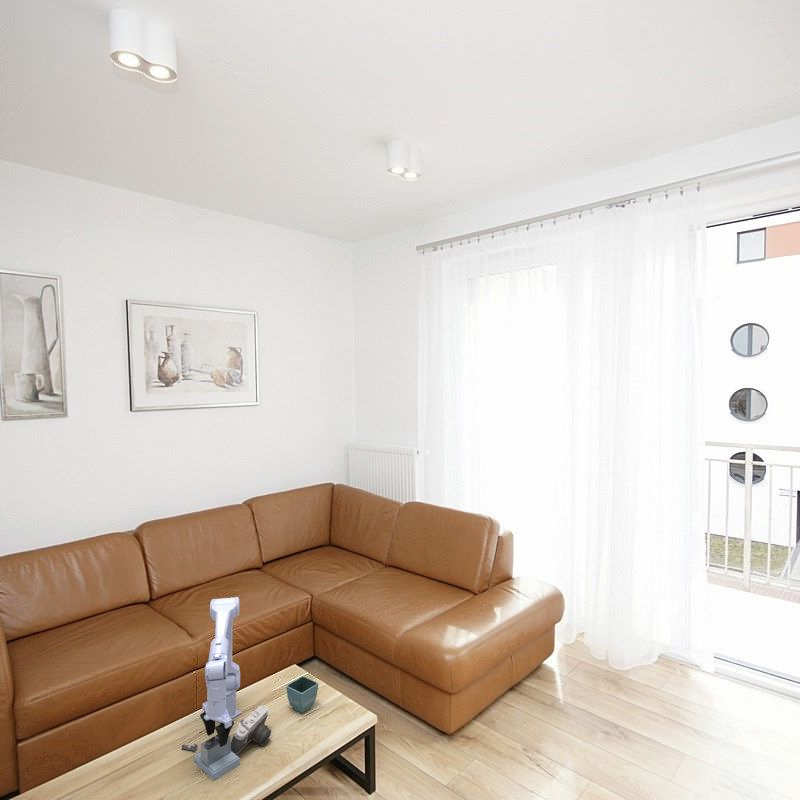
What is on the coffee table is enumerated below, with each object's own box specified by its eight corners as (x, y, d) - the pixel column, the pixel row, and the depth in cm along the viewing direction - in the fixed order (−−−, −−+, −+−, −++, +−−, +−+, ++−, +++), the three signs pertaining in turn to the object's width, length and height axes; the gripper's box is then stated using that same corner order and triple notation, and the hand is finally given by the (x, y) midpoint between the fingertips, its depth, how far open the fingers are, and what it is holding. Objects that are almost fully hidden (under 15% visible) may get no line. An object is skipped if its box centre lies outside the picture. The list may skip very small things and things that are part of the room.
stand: (194, 761, 164) (194, 754, 164) (219, 747, 170) (219, 739, 170) (213, 780, 156) (213, 772, 156) (239, 764, 163) (239, 756, 163)
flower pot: (302, 697, 198) (302, 675, 198) (319, 706, 193) (319, 682, 193) (285, 709, 191) (285, 685, 191) (301, 718, 186) (301, 693, 185)
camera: (224, 749, 168) (233, 725, 165) (255, 718, 182) (264, 696, 180) (245, 768, 165) (254, 743, 162) (275, 735, 179) (284, 712, 177)
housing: (200, 759, 161) (200, 740, 161) (223, 746, 167) (223, 728, 167) (207, 766, 158) (207, 747, 158) (230, 752, 164) (230, 734, 164)
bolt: (180, 750, 169) (180, 744, 169) (184, 746, 171) (184, 740, 171) (194, 752, 168) (194, 746, 168) (197, 748, 170) (197, 742, 170)
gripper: (193, 694, 164) (193, 735, 165) (217, 713, 155) (217, 757, 155) (213, 684, 170) (213, 724, 170) (237, 702, 160) (237, 744, 161)
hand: (216, 739), depth 163 cm, fingers open, 7 cm apart
